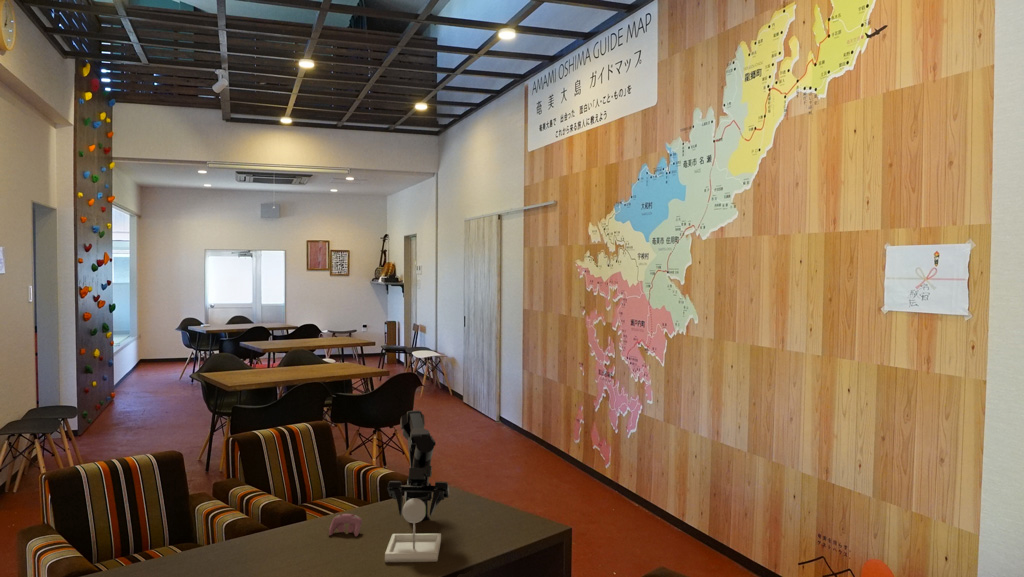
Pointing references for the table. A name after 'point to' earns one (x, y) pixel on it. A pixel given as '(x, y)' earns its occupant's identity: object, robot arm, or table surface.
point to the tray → (404, 552)
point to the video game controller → (349, 519)
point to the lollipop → (414, 513)
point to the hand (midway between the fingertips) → (415, 515)
